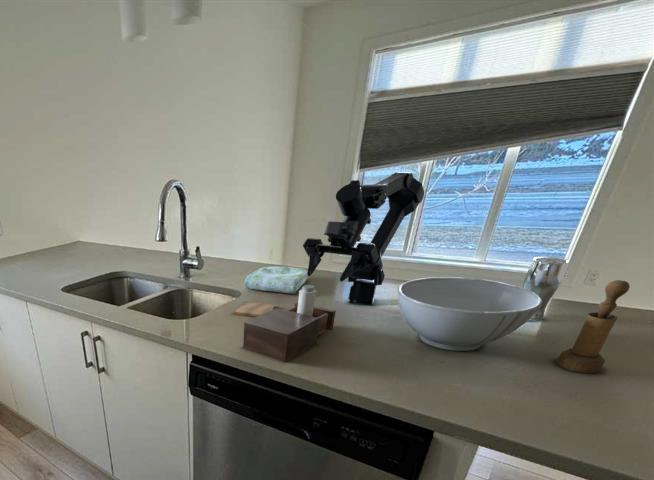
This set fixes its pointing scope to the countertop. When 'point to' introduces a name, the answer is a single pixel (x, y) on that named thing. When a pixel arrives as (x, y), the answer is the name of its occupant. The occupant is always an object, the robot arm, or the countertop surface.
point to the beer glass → (544, 280)
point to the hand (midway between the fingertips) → (324, 278)
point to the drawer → (320, 317)
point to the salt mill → (306, 300)
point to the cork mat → (254, 309)
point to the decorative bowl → (464, 310)
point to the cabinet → (280, 333)
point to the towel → (277, 279)
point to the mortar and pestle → (594, 334)
